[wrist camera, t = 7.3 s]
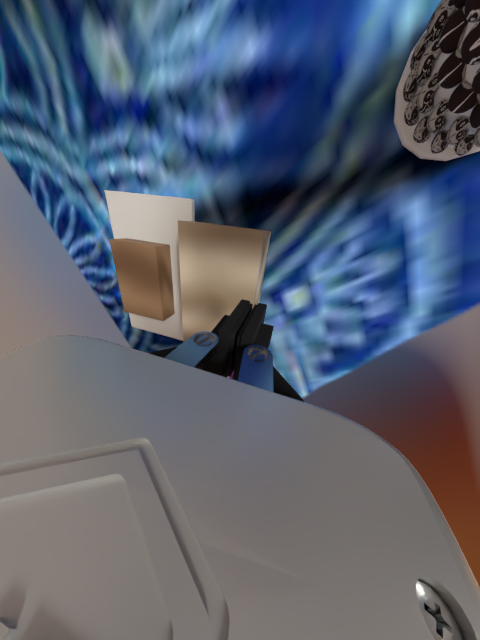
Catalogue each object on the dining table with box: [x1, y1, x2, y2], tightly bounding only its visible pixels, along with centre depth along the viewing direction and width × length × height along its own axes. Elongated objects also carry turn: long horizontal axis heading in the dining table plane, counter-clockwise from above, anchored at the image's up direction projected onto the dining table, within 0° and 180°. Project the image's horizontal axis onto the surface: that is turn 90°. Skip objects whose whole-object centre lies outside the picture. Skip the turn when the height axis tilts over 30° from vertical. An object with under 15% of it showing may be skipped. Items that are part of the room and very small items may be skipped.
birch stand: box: [178, 220, 271, 343], centre depth 21 cm, size 14×8×4 cm, turn 174°
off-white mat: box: [105, 190, 195, 341], centre depth 24 cm, size 18×11×1 cm, turn 173°
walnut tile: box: [109, 238, 175, 321], centre depth 23 cm, size 9×6×2 cm, turn 174°
